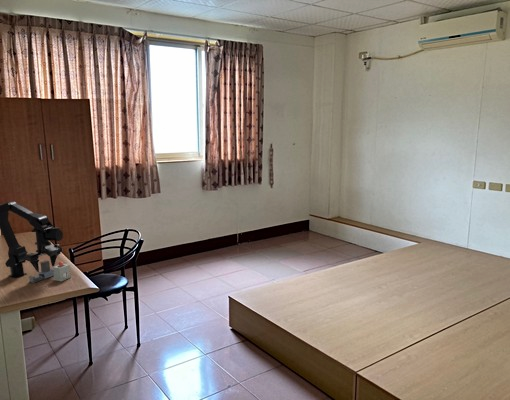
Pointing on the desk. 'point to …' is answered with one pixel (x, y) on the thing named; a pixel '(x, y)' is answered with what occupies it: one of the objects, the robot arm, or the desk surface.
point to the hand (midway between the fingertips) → (45, 268)
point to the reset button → (60, 264)
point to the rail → (37, 278)
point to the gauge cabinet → (61, 272)
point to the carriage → (46, 269)
